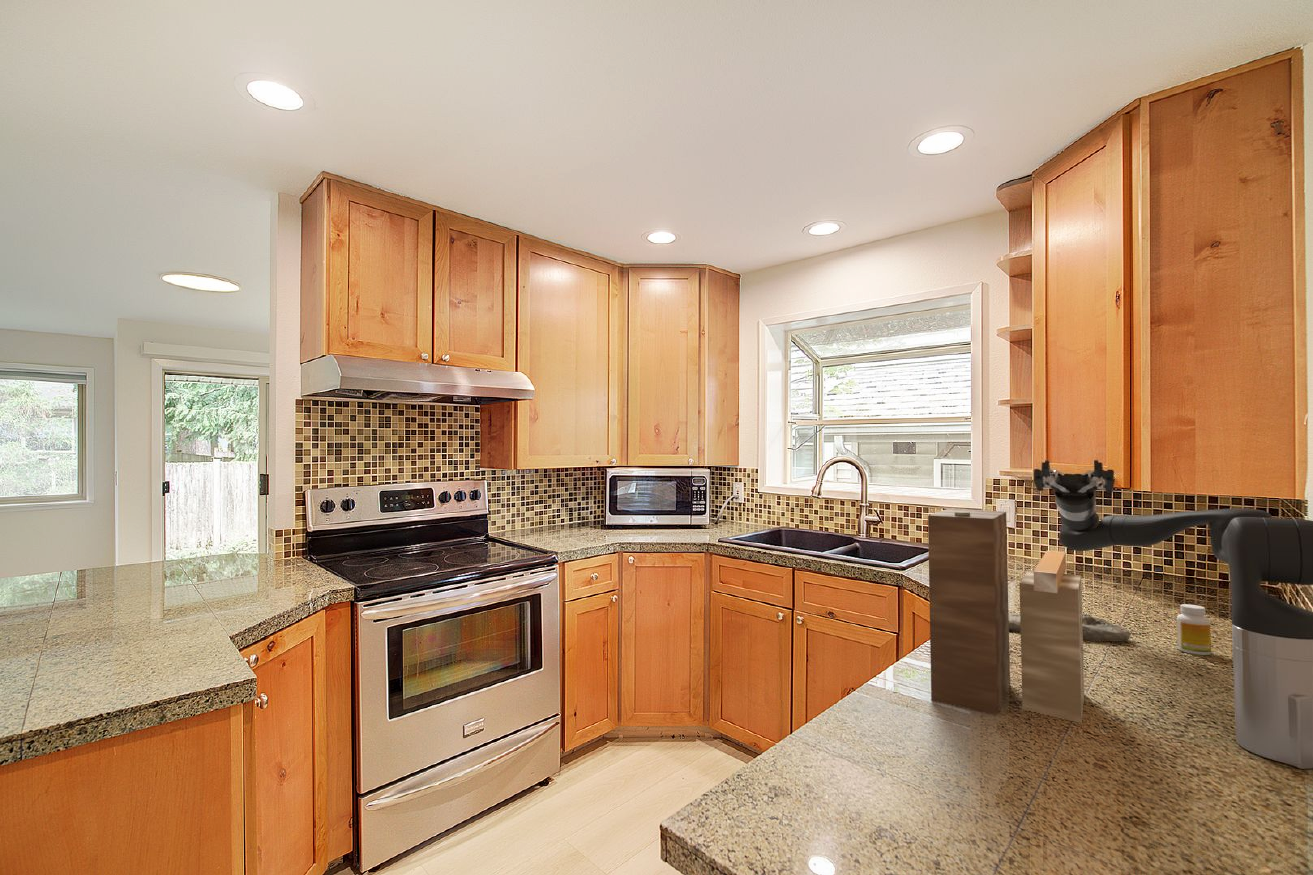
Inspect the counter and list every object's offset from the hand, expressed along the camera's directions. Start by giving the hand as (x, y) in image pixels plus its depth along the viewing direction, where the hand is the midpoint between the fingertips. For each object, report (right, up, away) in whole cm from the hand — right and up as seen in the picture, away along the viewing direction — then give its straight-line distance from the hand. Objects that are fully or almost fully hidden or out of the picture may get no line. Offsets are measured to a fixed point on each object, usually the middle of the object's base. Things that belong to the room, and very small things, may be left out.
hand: (1071, 463), depth 124 cm
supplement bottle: (+29, -41, +3) cm, 50 cm away
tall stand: (-31, -40, -19) cm, 54 cm away
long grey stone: (+5, -42, +19) cm, 46 cm away
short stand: (-19, -40, -23) cm, 50 cm away
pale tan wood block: (-18, -19, -21) cm, 34 cm away
